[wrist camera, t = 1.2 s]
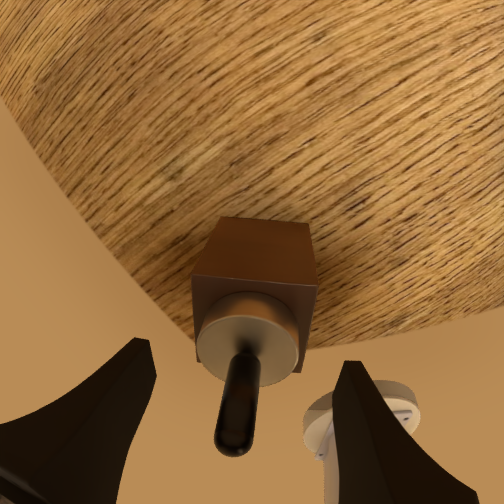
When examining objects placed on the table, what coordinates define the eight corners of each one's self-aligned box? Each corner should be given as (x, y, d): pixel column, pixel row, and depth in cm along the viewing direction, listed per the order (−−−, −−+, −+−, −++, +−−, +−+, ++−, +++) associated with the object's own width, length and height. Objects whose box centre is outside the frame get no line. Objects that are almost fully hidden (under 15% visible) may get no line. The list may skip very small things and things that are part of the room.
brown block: (298, 297, 20) (301, 373, 14) (220, 290, 20) (196, 362, 15) (308, 223, 18) (319, 285, 12) (220, 216, 18) (190, 273, 12)
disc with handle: (291, 365, 14) (289, 482, 9) (206, 357, 14) (174, 468, 9) (304, 295, 12) (311, 427, 7) (203, 285, 12) (153, 408, 7)
